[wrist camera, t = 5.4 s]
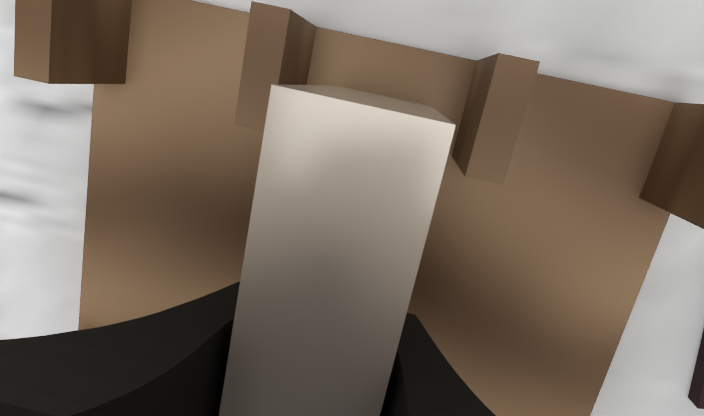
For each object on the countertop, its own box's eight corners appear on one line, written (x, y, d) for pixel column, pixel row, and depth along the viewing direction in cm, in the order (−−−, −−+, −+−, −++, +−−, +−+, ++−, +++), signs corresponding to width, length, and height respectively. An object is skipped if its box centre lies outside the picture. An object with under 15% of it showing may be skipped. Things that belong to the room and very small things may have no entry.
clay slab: (348, 440, 14) (310, 676, 9) (270, 420, 15) (182, 641, 9) (430, 106, 12) (455, 125, 6) (335, 85, 12) (271, 84, 6)
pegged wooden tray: (541, 492, 16) (582, 616, 13) (92, 378, 17) (2, 462, 13) (688, 108, 13) (808, 117, 9) (121, -12, 14) (11, -50, 10)
